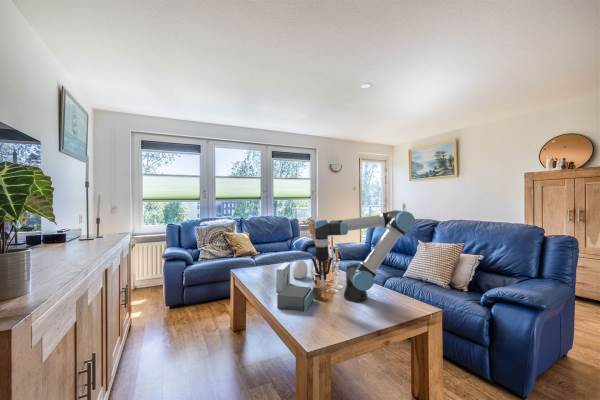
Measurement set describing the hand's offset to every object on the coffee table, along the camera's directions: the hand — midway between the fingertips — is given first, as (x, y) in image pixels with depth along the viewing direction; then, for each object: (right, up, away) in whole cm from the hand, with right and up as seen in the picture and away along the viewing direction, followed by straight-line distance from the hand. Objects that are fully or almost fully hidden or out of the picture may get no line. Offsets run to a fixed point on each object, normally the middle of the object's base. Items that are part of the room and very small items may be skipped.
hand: (323, 285), depth 157 cm
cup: (-14, -13, +60) cm, 63 cm away
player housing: (-17, -13, +5) cm, 22 cm away
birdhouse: (-15, -12, +4) cm, 20 cm away
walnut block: (-3, -13, +15) cm, 20 cm away
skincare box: (-26, -13, +36) cm, 46 cm away
